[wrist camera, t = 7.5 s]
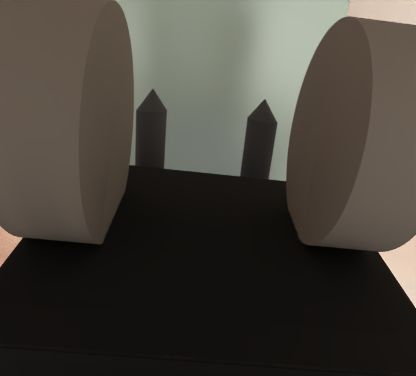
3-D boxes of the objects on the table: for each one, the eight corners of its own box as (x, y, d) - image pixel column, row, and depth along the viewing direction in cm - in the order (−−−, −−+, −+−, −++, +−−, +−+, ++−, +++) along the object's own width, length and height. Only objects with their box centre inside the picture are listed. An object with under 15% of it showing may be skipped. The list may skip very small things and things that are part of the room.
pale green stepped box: (49, -45, 17) (-36, -72, 10) (320, -46, 17) (393, -73, 11) (107, 265, 26) (79, 349, 19) (283, 260, 26) (311, 341, 20)
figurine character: (80, 14, 9) (95, 413, 15) (-275, -112, 2) (7, 752, 8) (326, 39, 10) (253, 415, 15) (690, 4, 3) (310, 734, 8)
